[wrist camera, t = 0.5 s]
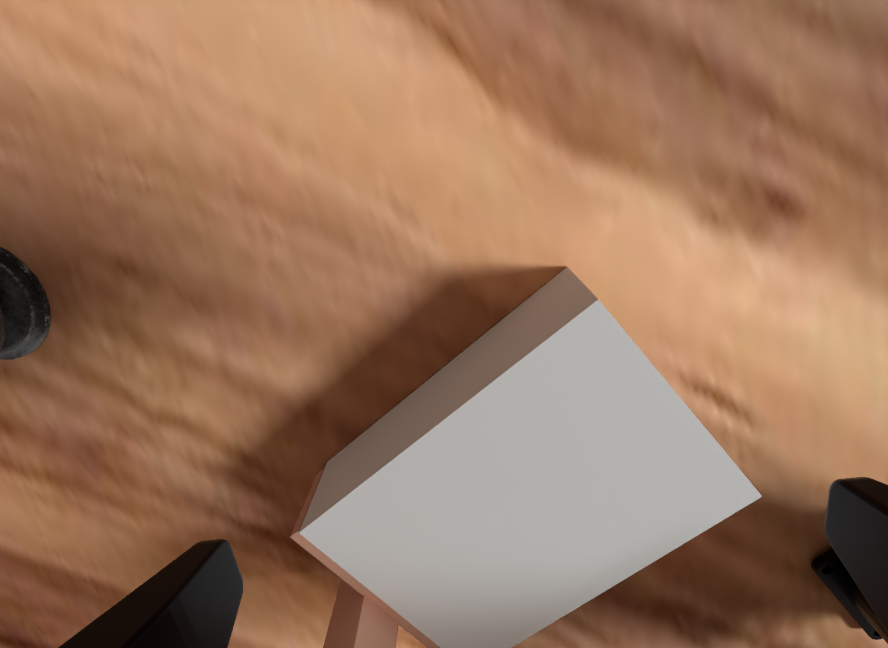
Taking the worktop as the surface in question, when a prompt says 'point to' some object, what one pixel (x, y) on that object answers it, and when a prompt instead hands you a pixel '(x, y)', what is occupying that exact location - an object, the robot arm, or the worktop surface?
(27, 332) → the grey figurine
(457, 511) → the sleeve
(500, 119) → the worktop surface
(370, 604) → the mailer tray
